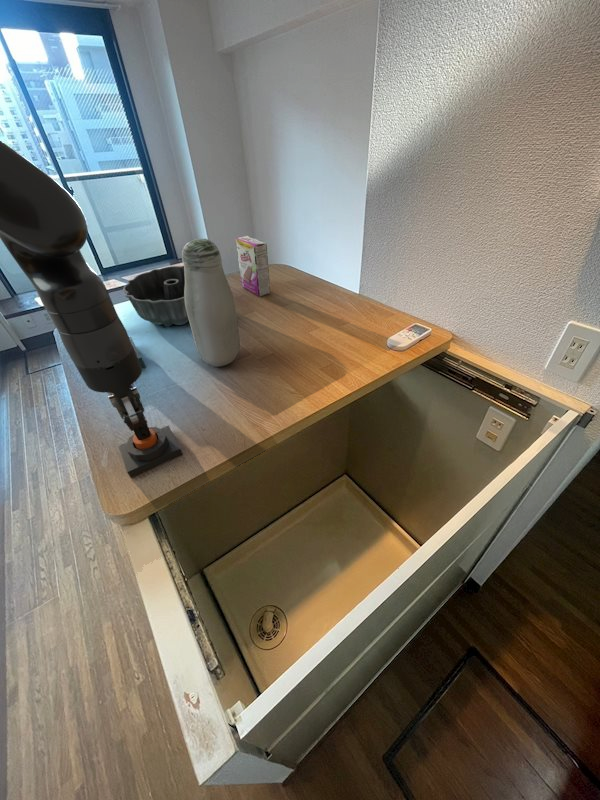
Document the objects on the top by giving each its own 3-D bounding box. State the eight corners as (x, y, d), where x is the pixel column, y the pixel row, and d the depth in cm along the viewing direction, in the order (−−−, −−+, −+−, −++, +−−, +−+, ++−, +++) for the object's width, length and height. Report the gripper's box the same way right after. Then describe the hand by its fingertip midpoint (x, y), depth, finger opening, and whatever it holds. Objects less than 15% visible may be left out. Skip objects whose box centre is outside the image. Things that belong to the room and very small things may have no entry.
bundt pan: (182, 342, 88) (172, 308, 81) (115, 322, 97) (101, 289, 90) (239, 304, 105) (235, 273, 99) (177, 290, 115) (170, 260, 108)
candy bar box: (241, 287, 115) (234, 237, 105) (252, 284, 118) (247, 235, 107) (259, 297, 109) (254, 245, 98) (271, 293, 111) (267, 242, 101)
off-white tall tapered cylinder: (226, 377, 76) (201, 251, 57) (192, 366, 79) (158, 244, 61) (250, 356, 83) (234, 237, 64) (217, 346, 86) (193, 231, 68)
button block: (130, 478, 55) (123, 465, 53) (121, 451, 59) (114, 439, 57) (182, 454, 59) (177, 441, 56) (170, 431, 63) (165, 418, 61)
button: (139, 453, 55) (135, 447, 54) (134, 440, 58) (130, 434, 56) (160, 444, 57) (157, 438, 56) (154, 432, 59) (151, 425, 58)
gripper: (66, 338, 47) (113, 422, 59) (78, 385, 39) (130, 472, 50) (121, 323, 50) (155, 406, 62) (142, 364, 42) (178, 450, 53)
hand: (144, 435), depth 56 cm, fingers closed
